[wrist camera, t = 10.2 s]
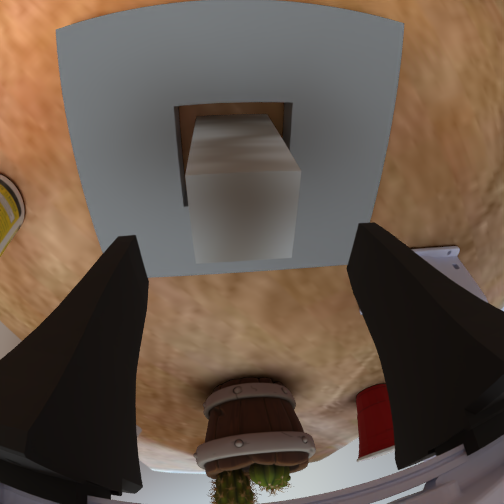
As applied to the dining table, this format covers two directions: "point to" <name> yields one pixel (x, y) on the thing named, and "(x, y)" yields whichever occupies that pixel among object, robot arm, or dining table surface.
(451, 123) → the dining table surface
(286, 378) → the dining table surface
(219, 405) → the flowerpot
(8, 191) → the supplement bottle
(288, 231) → the peg
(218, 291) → the dining table surface
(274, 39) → the socket board
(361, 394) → the plastic cup
